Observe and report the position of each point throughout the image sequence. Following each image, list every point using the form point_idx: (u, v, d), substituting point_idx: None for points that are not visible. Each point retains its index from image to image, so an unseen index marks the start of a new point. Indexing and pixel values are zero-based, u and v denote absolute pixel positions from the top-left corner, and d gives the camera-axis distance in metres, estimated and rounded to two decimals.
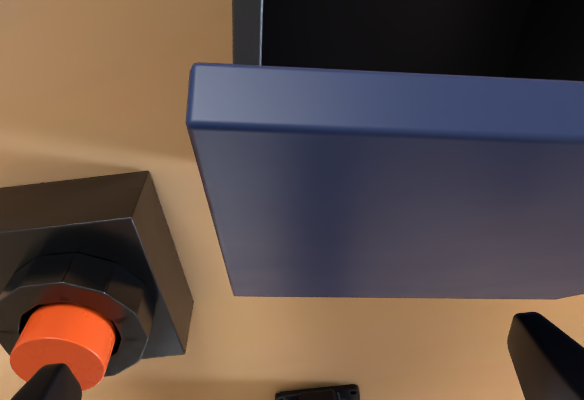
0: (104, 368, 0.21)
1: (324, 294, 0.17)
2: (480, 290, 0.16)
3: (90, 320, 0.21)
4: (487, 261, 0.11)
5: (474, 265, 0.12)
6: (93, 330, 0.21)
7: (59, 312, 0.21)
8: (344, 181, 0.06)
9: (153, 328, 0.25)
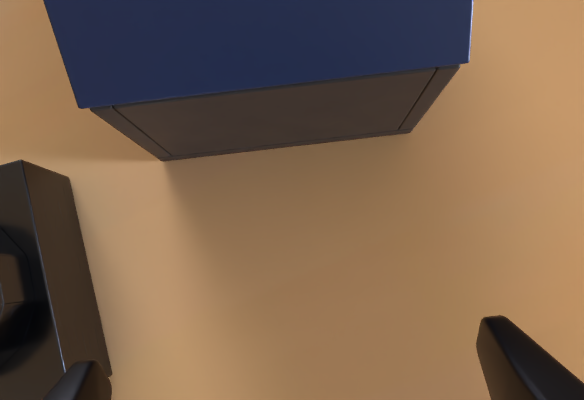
0: None
1: (173, 70, 0.14)
2: (334, 2, 0.14)
3: None
4: None
5: None
6: None
7: None
8: None
9: (29, 343, 0.18)
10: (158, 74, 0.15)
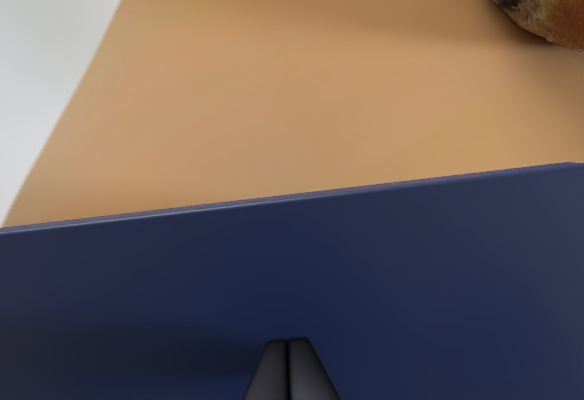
0: None
1: None
2: None
3: None
4: None
5: None
6: None
7: None
8: (64, 292, 0.09)
9: None
10: None
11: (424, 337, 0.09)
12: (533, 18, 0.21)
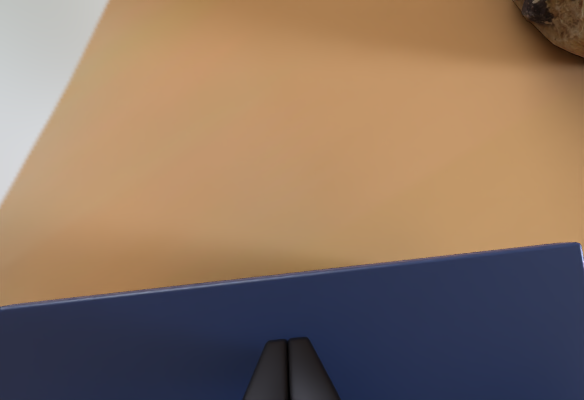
0: None
1: None
2: None
3: None
4: None
5: None
6: None
7: None
8: (80, 364, 0.10)
9: None
10: None
11: None
12: (570, 35, 0.18)
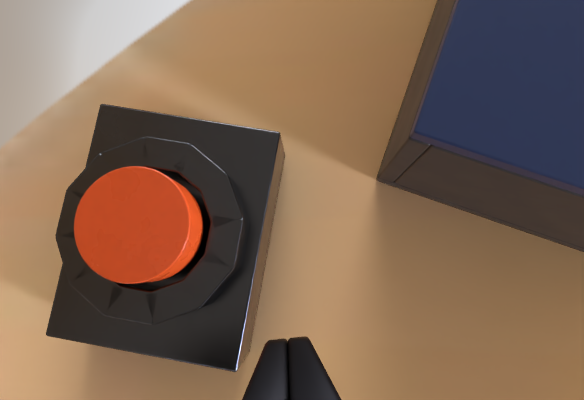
0: (183, 248, 0.16)
1: (523, 139, 0.15)
2: None
3: (192, 199, 0.17)
4: None
5: None
6: (193, 205, 0.17)
7: None
8: None
9: (220, 304, 0.19)
10: (507, 137, 0.15)
11: None
12: None
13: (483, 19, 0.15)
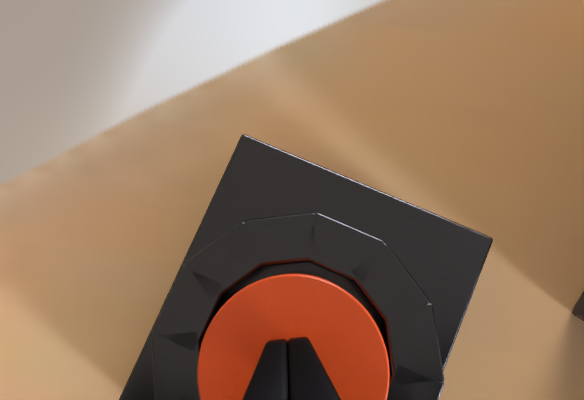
0: None
1: None
2: None
3: None
4: None
5: None
6: None
7: None
8: None
9: None
10: None
11: None
12: None
13: None
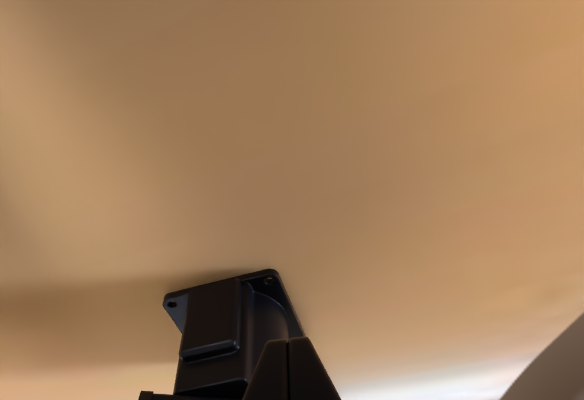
0: None
1: None
2: None
3: None
4: None
5: None
6: None
7: None
8: None
9: None
10: None
11: None
12: None
13: None
